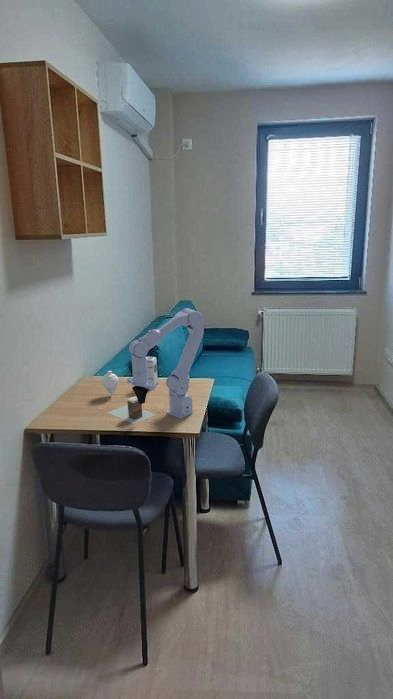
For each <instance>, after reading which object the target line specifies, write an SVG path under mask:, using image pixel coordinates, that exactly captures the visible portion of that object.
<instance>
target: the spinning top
mask: <svg viewBox="0 0 393 699" xmlns="http://www.w3.org/2000/svg"><path fill="white" fill-rule="evenodd" d="M119 381H120V379H119V377H118V376H117V374H115V373H113V371H112V370H107V373H106V374H104V376H103V377H102V379H101V383H102V384H101V385H103V387H104V389H105V390H106V391H107V392H108V393H109V394H110V395H111V396H113V393H114V392H115V391H116V388H117V387H118V386H119V383H120V382H119Z"/></svg>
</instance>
